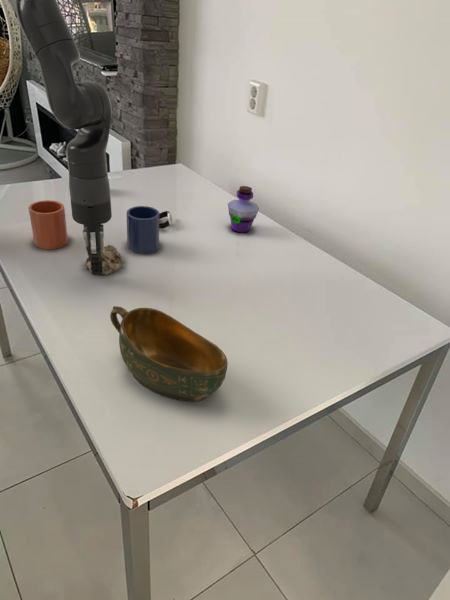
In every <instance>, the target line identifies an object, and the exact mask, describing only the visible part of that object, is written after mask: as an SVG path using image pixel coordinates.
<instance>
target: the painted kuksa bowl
mask: <svg viewBox="0 0 450 600" xmlns="http://www.w3.org/2000/svg"><path fill="white" fill-rule="evenodd" d="M118 315H119V316H120V317H121V318H122V319H121V322H120V321H119V318H118ZM109 318H110V322H111V324H112V325H113V327H114V328H115V329H116V331H117V332H118V334H119V335H118V344H119V345H118V346H119V352H120V356H121V358H122V361H123V363H124V365H125V366H126V368H127V370H128V371H129V372H130V373H131V374H132V377H133V378H134V379H135V380H136V382H138V383H139V384H140V385H142V386H143V387H145V388H146V389H147V390H150V391H152V392H154V393H156V394H158V395H161V396H164V397H168V398H169V399H170V398H171V399H174V400H179V401H185V402H199V401H202V400H205V398H207V397H209V396H210V395H213V394H214V393H215V392H217V390H218V389H220V388H221V386H222V385H223V383H224V381H225V378H226V375H227V372H228V357H227V356H226V354H225V353H224V351H223V350H222V349H221V348H220V347H219V346H218V345H216V344H215V343H214V342H211V341H210V340H208V339H207V338H206V337H205V336H202V335H200V334H199V333H197V332H195V331H194V330H193V329H191V328H190V327H188V326H186V325H185V324H183V323H181V322H180V321H179V320H177V319H176V318H174V317H172V316H171V315H169V314H167V313H166V312H163V311H162V310H159V309H156V308H152V307H137V308H134V309H131V310H129V311H128V310H127V309H125V308H124V307H121V306H116V305H114V306H113V307H112V310H111V312H110V315H109Z"/></svg>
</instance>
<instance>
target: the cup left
mask: <svg viewBox="0 0 450 600" xmlns="http://www.w3.org/2000/svg"><path fill="white" fill-rule="evenodd" d="M28 215H29V220H30V226H31V232H32V238H33V244H34V245H35V246H36V247H37V248H39V249H44V250H56V249H59V248H63V247H64V246H66V245H67V244H68V242H69V238H68V229H67V220H66V212H65V206H64V204H63V203H62V202H60V201H57V200H38V201H35V202H32V203H31V204H29V206H28Z"/></svg>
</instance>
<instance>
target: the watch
mask: <svg viewBox="0 0 450 600" xmlns="http://www.w3.org/2000/svg"><path fill="white" fill-rule="evenodd" d="M164 218H167V220H166V221H164V222H159V230H160V229H166V228H168V227H169V226H172V225H173V216H172V214H171V212H170V211H168V210H166V211H162V212H159V221H160V220H162V219H164Z"/></svg>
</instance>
